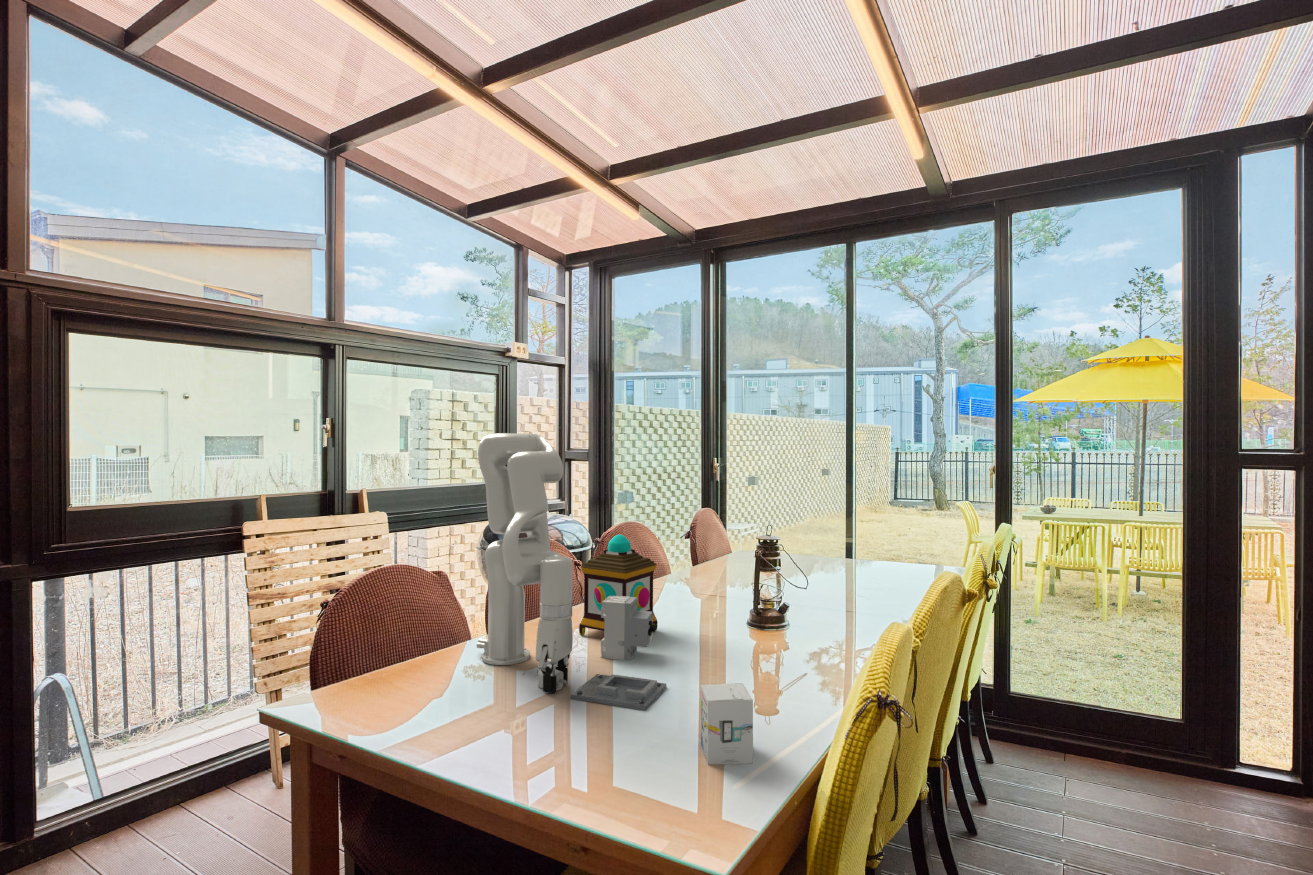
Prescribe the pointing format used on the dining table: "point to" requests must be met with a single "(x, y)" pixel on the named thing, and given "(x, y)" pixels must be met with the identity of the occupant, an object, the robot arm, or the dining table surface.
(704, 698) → the ink box
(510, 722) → the dining table surface
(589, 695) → the plate
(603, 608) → the circuit breaker
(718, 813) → the dining table surface
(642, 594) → the decorative lantern
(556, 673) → the usb wall charger
